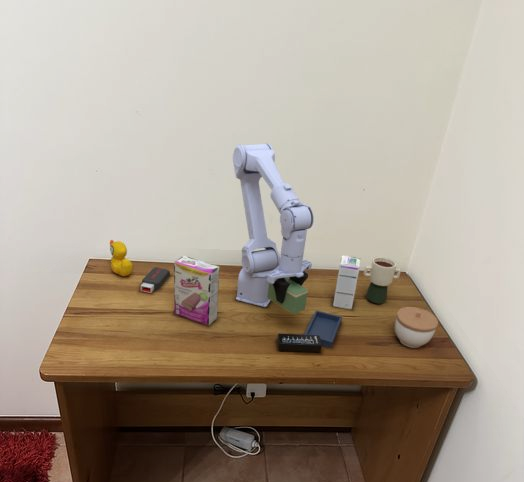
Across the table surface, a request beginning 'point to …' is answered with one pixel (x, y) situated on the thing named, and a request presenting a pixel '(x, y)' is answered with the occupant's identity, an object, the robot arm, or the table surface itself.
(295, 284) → the green box
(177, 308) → the candy bar box
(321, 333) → the desk tray
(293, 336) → the multiport hub
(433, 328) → the trinket box
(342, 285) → the syrup box
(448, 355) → the table surface
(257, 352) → the table surface
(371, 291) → the character mug
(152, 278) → the usb drive
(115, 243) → the duckling
